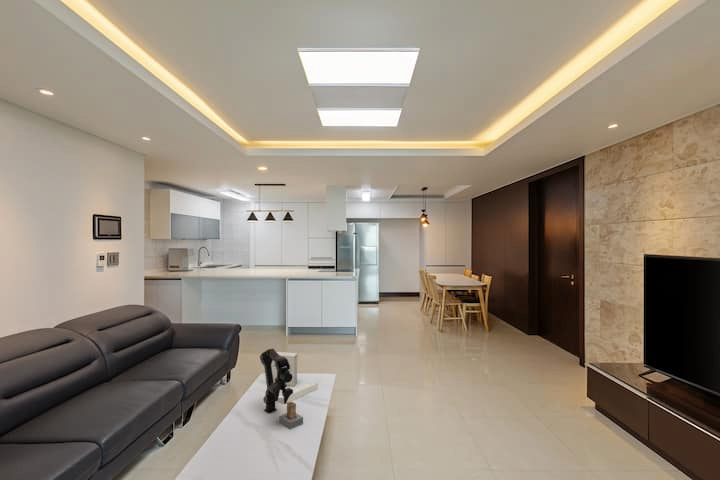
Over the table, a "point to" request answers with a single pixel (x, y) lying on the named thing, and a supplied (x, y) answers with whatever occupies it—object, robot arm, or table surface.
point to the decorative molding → (299, 392)
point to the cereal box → (293, 366)
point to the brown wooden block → (291, 410)
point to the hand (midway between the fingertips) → (280, 401)
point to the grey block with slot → (290, 421)
